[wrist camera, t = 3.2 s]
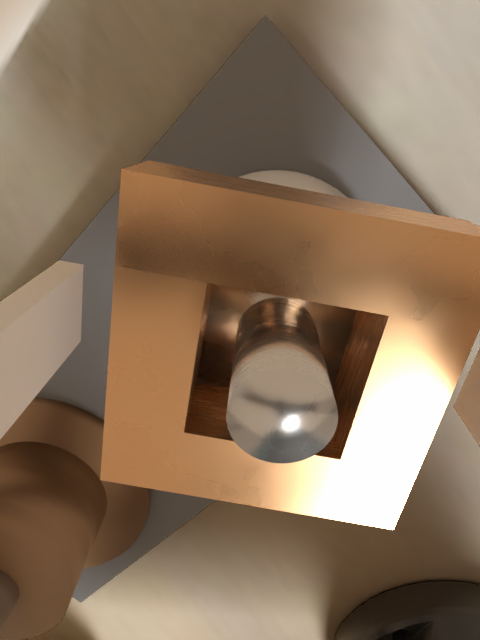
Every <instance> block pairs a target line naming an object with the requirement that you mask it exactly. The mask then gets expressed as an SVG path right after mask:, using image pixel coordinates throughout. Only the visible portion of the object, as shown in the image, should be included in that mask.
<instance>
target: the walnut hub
mask: <svg viewBox="0 0 480 640" xmlns="http://www.w3.org/2000/svg"><path fill="white" fill-rule="evenodd" d="M103 431H104V421H103V420H102V419H100V418H98V417H97V416H95V415H93V414H92V413H90V412H87V411H85V410H83V409H81V408H79V407H76V406H73V405H70V404H68V403H65V402H61V401H57V400H52V399H48V398H39V397H35V398H34V399H33V400H32V401H31V403H30V404H29V405H28V406H27V408H26V409H25V410H24V411H23V413H22V414H21V415H20V416H19V417H18V419H17V420H16V421H15V422H14V424H13V425H12V426H11V427H10V428H9V430H8V431H7V432H6V433H5V435H4V436H3V437H2V438H1V439H0V640H22V639H28V638H32V637H36V636H39V635H41V634H44V633H46V632H47V631H49V630H51V629H52V628H54V627H55V626H56V625H57V624H58V623H59V622H60V621H61V620H62V618H63V616H64V615H65V613H66V610H67V608H68V605H69V603H70V600H71V598H72V595H73V593H74V591H75V588H76V586H77V583H78V581H79V578H80V576H81V573H82V571H83V569H84V568H90V567H94V566H97V565H101V564H103V563H106V562H108V561H110V560H113V559H114V558H116V557H118V556H119V555H121V554H122V553H124V552H125V551H126V550H127V549H129V548H130V547H131V546H132V544H133V543H134V542H135V541H136V540H137V538H138V537H139V535H140V534H141V532H142V530H143V527H144V525H145V523H146V519H147V516H148V512H149V508H150V503H151V489H149V488H143V487H138V486H132V485H126V484H120V483H114V482H108V481H102V480H100V475H101V460H102V446H103Z"/></svg>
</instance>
